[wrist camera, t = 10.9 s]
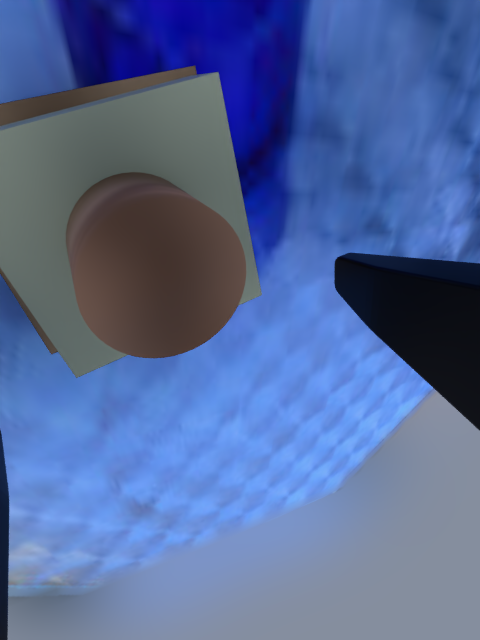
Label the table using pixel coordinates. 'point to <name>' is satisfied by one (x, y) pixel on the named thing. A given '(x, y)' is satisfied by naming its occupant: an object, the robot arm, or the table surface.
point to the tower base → (67, 99)
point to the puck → (152, 266)
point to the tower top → (95, 165)
